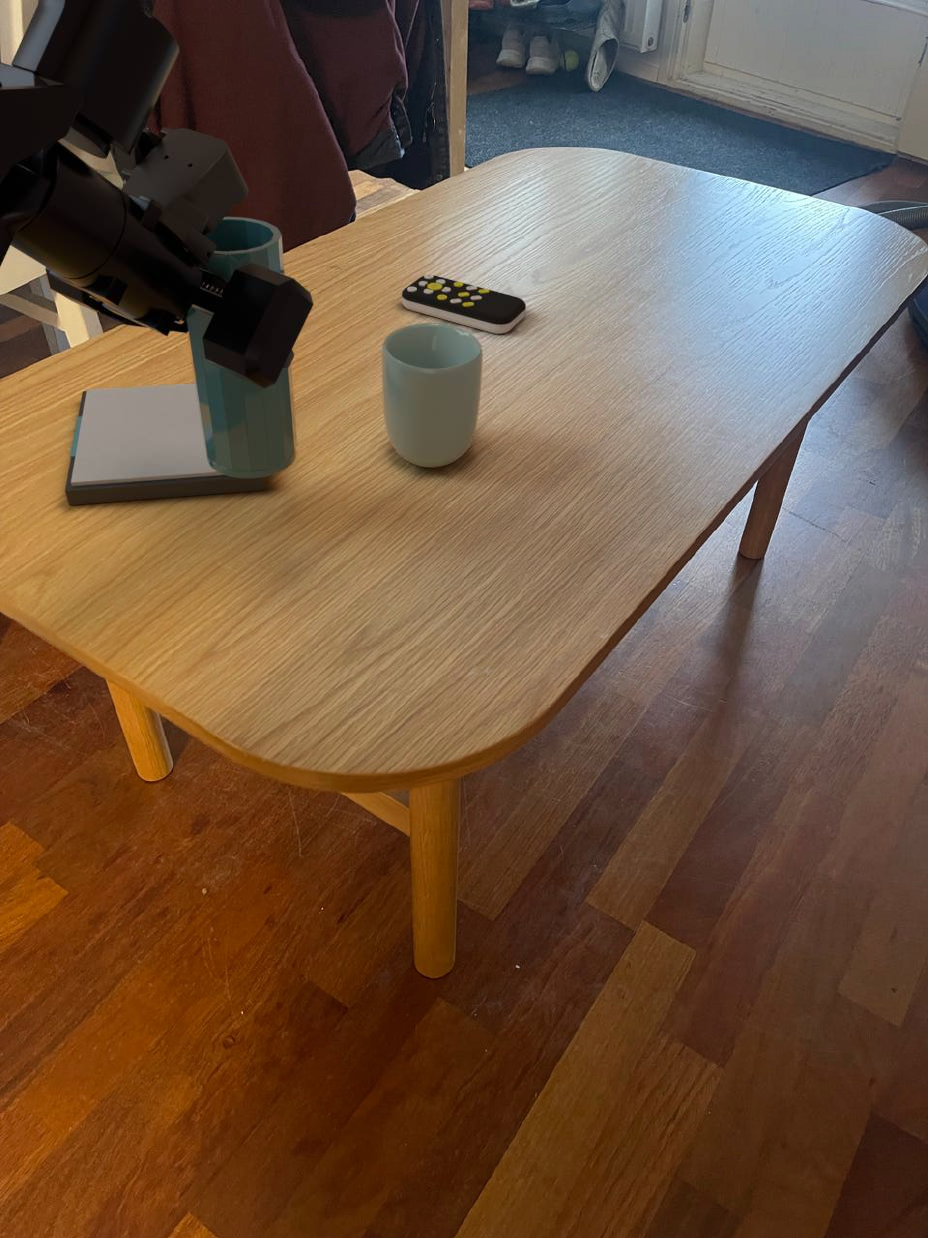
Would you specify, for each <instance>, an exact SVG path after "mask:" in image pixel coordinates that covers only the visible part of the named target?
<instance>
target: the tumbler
mask: <svg viewBox="0 0 928 1238" xmlns="http://www.w3.org/2000/svg"><path fill="white" fill-rule="evenodd" d="M204 236H205V237H206V238H207V239H209V240H210V241H211V242H212V243H213V244H215V245H216V246H217V247H216V249H215V251H214V253H213V255H212V258H211V260H210V262H209V264H208V265H205V264H202V265H201V267H200V268H201V269H204V270H206V271H209V272H211V273H214V274H216V275H219V276H221V277H224V278H226V279H231V276H232V274H233V272H234V270H235V269H236V268H239V267H241V266H243V265H246V264H248V263H251V262H252V263H255V264H257V265H260V266H262V267H265V268H268V269H270V270H273V271H275V272H278V273H281V274H283V275H286V274H285V273H286V272H285V263H284V261H285V260H284V248H283V235H282V233H281V231H280V229H279V228H278V227H277V226H275V225H273V224H270V223H269V222H267V221H264V220H259V219H256V218H255V219H254V218H250V217H241V216H225V217H224V218H223V220H222V221H221V222H220V223H219V224H218V225H217V226H216V227H215V228H214V229H213V230H212V231H211V232H210V233H208V234H206V235H204ZM200 289H203V288H202V287H200ZM203 290H205V291H207V292H210V293H212V294H215V295H217V296H219V297H222V296H221V295H219V294H216V293H215V292H214V293H213V292H211V291H210V290H209V291H208V290H206V289H203ZM211 319H212V316H211V315H208V314H206V313H204V312H201V311H199V310H197V309H194V308H192V307H191V308H190V309H189V311H188V315H187V318H186V320H185V322H186V329H187V333H186V334H187V335H186V336H187V342H188V347H189V349H188V350H189V354H190V361H191V362H190V363H191V368H192V375H193V383H195V389H196V396H197V402H198V409H199V416H200V423H201V429H202V436H203V443H204V449H205V452H206V458H207V462H208V464H209V465H210V466H211V467H212V468H213V469H214V470H216V471H217V472H219V473H221V474H224V475H227V476H231V477H237V478H259V477H264V478H266V477H269V476H273V475H276V474H279V473H280V472H283V471H284V470H286V469H287V468H289V467H290V466H291V465H292V464H293V463H294V462H295V460H296V459H297V455H298V450H297V447H298V436H297V424H296V411H295V409H296V408H295V397H294V396H295V395H294V384H293V383H294V382H293V370H292V369H293V368H292V363H291V364H290V366H289V368H287V369H282V371H281V373H280V375H279V377H278V379H277V382H276V383H275V384H273V385H271V386H269V387H267V388H265V389H264V388H262V387H260V386H257V385H255V384H253V383H251V382H249V381H246V380H244V379H242V378H240V377H238V376H235V375H233V374H231V373H230V372H228V371H226V370H224V369H222V368H219V367H217V366H215V365H213V363H212V362H210V361H208V360H207V359H205V353H204V347H203V340H202V337H203V335H204V333H205V331H206V329H207V327H208V325H209V323H210V321H211Z"/></svg>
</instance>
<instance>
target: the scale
mask: <svg viewBox="0 0 928 1238" xmlns="http://www.w3.org/2000/svg"><path fill="white" fill-rule="evenodd" d="M80 398H81V400H80V405H79V409H78V414H77V415H78V416H77V417H76V421H75V426H74V427H75V428H74V433H73V439H72V444H71V449H70V455H69V457H70V460H69V466H68V471H67V476H66V482H65V489H64V494H65V497H66V500H67V503H68V505H69V506H77V505H91V504H103V503H116V502H129V501H143V500H153V499H166V498H179V497H181V498H182V497H194V496H205V495H220V494H221V495H222V494H233V493H246V492H257V491H258V492H259V491H265V490H266V481H265V477H259V478H237V477H231V476H227V475H224V474H221V473H219V472H217V471H216V470H214V469H213V468H212V467H211V466H210V465H209V464H208V462H207V458H206V452H205V449H204V443H203V436H202V429H201V423H200V416H199V409H198V402H197V396H196V389H195V382H193V383H179V384H176V383H175V384H160V385H146V386H145V385H141V386H125V387H109V388H108V387H106V388H91V389H89V388H88V389H86V390H83V391H82V393H81V397H80Z"/></svg>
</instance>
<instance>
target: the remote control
mask: <svg viewBox="0 0 928 1238" xmlns="http://www.w3.org/2000/svg"><path fill="white" fill-rule="evenodd" d="M401 303H402V306H403V307H404V308H405V309H406V310H409V311H413V312H416V313H420V314H423V315H427V316H430V317H431V316H432V317H434V318H437V319H442V320H445V321H449V322H452V323H455V324H459V325H464V326H467V327H470V328H473V329H477V330H480V331H485V332H489V333H491V334H506V333H508V332H509V331H511V330H512V329H513V328H514V327H515V326H516V325H517V324H518V323H519V322H521V321H522V320H523V319H524V317H525V316H526V312H527V311H526V308H527V306H526V305H527V304H526V302H525V301H524V300H523V298H520V297H518V296H514V295H511V294H508V293H503V292H499V291H496V290H492V289H488V288H484V287H480V286H476V285H473V284H469V283H466V282H462V281H456V280H453V279H451V278H450V279H449V278H446V277H442V276H439V275H434V274H432V273H427V274H424V275H422V276H420V277H419V278H417V279H416V280H414V281H413V282H412V283H410V284H409V285H408V286H406V287H405V288H404V289H403V290H402V293H401Z"/></svg>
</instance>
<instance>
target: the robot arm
mask: <svg viewBox="0 0 928 1238" xmlns="http://www.w3.org/2000/svg"><path fill="white" fill-rule="evenodd" d="M180 51H181V50H180V46H179V43H178V42H177V40H176V39H175V37H174V36H173V34H172V33H171V32H170V31H169V29H168V28H167V27H166V26H165V25H164V24H163V23H162V22H161V21H160V20H159V19H158V18H157V17H155V16H154V15H152V14H148V13H145V12H144V11H143V10H141V9H140V8H138V6H135V4H133V3H132V2H131V1H129V0H38V3H37V6H36V7H35V10H34V12H33V14H32V17H31V19H30V21H29V24H28V25H27V27H26V31H25V32H24V34H23V37H22V39H21V41H20V43H19V46H18V48H17V50H16V52H15V54H14V56H13V58H12V61H11V64H7V63H4V62H1V61H0V268H1V267H2V264H3V262H4V260H5V258H6V255H7V254H8V251H9V249H10V248H11V247H12V248H14V249H16V250H17V251H19V252H21V253H22V254H24V255H26V256H27V257H29V258H31V259H32V260H34V261H36V262H37V263H39V264H40V265H42V266H44V267H45V268H44V270H45V274H46V277H47V280H48V281H47V282H48V284H49V285H48V286H49V288H50V289H51V290H52V291H54V292H55V293H57V294H59V295H61V296H63V298H66V299H67V300H69V301H71V302H73V303H76V304H77V305H80V306H82V307H84V308H87V309H89V310H90V311H92V312H95V313H98V312H99V314H101V315H102V316H105V317H108V318H109V319H112V320H113V321H116V322H118V323H121V324H123V325H125V326H132V327H138V328H139V327H140V328H144V329H145V328H146V329H149V330H152V331H154V332H156V333H158V334H161V335H163V336H165V337H168V336H169V335H170V332H175V333H181V334H182V333H183V334H187V329H186V322H185V320H186V318H187V315H188V311H189V309H190V308H191V307H192V308H194V309H197V310H199V311H201V312H204V313H206V314H208V315H211V316H212V319H211V321H210V323H209V325H208V327H207V329H206V331H205V333H204V335H203V337H202V340H203V347H204V353H205V359H207V360H208V361H210V362H212V363H213V365H215V366H217V367H219V368H222V369H224V370H226V371H228V372H230V373H231V374H233V375H235V376H238V377H240V378H242V379H244V380H246V381H249V382H251V383H253V384H255V385H257V386H260V387H262V388H264V389H265V388H267V387H269V386H271V385H273V384H275V383H276V382H277V379H278V377H279V375H280V373H281V371H282V369H287V368H289V366H290V364H291V365H292V362H293V360H294V358H295V352H294V351H293V350H294V349H293V348H294V346H295V344H296V342H297V340H298V338H299V336H300V334H301V332H302V330H303V328H304V325H305V323H306V321H307V319H308V317H309V315H310V313H311V311H312V309H313V307H314V305H315V304H314V301H313V296H312V292H310V291H309V290H308V289H306V288H305V286H303V285H302V284H301V283H300V282H299V281H297V280H296V279H295V278H294V277H291V276H288V275H286V274H285V275H283V274H281V273H278V272H275V271H273V270H270V269H268V268H265V267H262V266H260V265H257V264H255V263H252V262H251V263H248V264H246V265H243V266H241V267H239V268H236V269H235V270H234V272H233V274H232V276H231V279H226V278H224V277H221V276H219V275H216V274H214V273H211V272H209V271H206V270H204V269H201V268H200V267H201V265H202V264H205V265H208V264H209V262H210V260H211V258H212V255H213V253H214V251H215V249H216V247H217V246H216V245H215V244H213V243H212V242H211V241H210V240H209V239H207V238H206V237H205V236H204V235H206V234H208V233H210V232H211V231H212V230H213V229H214V228H215V227H216V226H217V225H218V224H219V223H220V222H221V221H222V220H223V218H224V217H227V215H228V214H229V213H230V212H231V211H232V210H233V209H234V207H236V205H240V204H242V203H243V202H244V201H245V200H246V198H247V197H248V194H249V192H250V191H249V187H248V184H247V182H246V181H245V179H244V177H243V175H242V172H241V171H240V168H239V167H238V165H237V162H236V160H235V159H234V156H233V154H232V152H231V149H230V148H229V146H228V143H227V142H226V141H225V140H224V139H220V138H218V137H216V136H215V137H214V136H212V135H208V134H205V133H202V132H199V131H196V130H193V129H190V128H186V127H182V128H176V129H171V128H168V127H166V126H164V127H162V128H161V130H159V132H160V134H161V136H162V137H161V136H160V135H158V134H157V133H155V132H154V131H153V130H151V129H148V128H146V125H147V124H148V121H149V120H150V117H151V115H152V112H153V111H154V109H155V106H156V105H157V102H158V99H159V97H160V95H161V93H162V91H163V89H164V86H165V84H166V82H167V81H168V78H169V76H170V74H171V72H172V69H173V68H174V65H175V63H176V60H177V59H178V56H179V54H180ZM60 140H64V141H66V142H67V143H69V144H70V145H72V146H74V147H76V148H78V149H79V150H81V151H82V152H86V153H87V154H89V155H91V156H93V157H96V158H99V159H102V160H107V158H108V157H109V154H110V152H111V150H112V148H114V149H115V155H116V160H117V161H116V162H117V166H118V170H119V172H120V174H121V176H122V177H123V178H124V180H123V182H122V186H121V189H120V187H118V186H117V185H115V184H114V183H113V182H112V181H110V180H109V179H108V178H106V177H105V176H104V175H103V174H102V173H100V172H99V171H97V170H96V169H95V168H94V167H92V166H91V165H90V164H89V163H87V162H85V160H84V159H82V158H80V157H79V156H78V155H77V154H76V153H74V152H73V151H71V150H70V149H69V148H67V147H66V146H65V145H64V144H63V143H62V142H60ZM200 287H202V288H203V289H206V290H208V291H209V290H210V291H211V292H213V293H214V292H215V293H216V294H219V295H221V296H222V297H219V296H217V295H215V294H212V293H210V292H207V291H205V290H203V289H200Z"/></svg>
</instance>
